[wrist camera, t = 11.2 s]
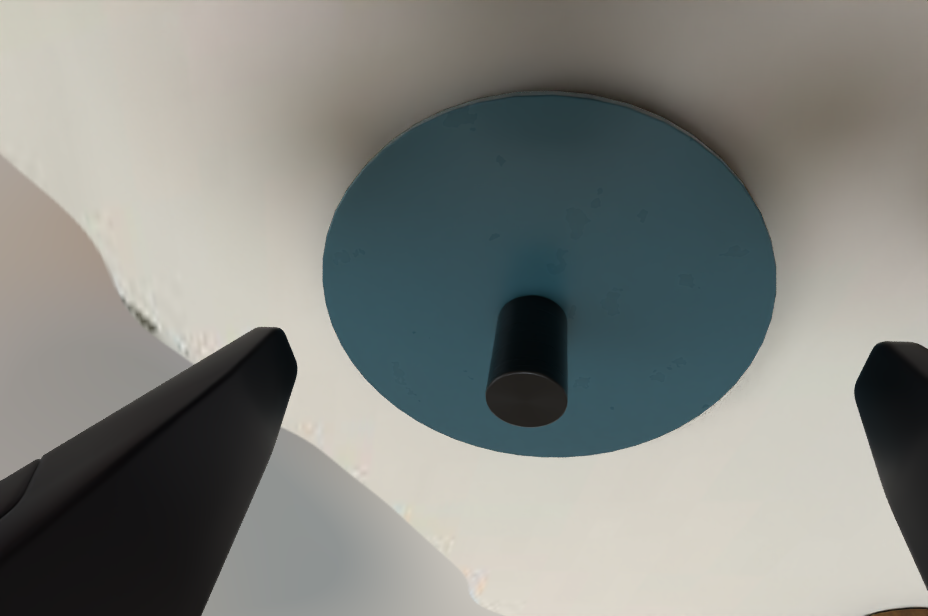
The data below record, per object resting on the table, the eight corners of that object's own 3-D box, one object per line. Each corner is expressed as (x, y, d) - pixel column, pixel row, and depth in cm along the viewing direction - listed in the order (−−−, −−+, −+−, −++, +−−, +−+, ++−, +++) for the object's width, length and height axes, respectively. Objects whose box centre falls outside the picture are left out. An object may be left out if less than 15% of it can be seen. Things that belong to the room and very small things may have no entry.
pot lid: (854, 93, 14) (969, 164, 10) (696, 458, 24) (722, 566, 20) (291, 76, 16) (202, 131, 12) (361, 418, 26) (324, 509, 22)
